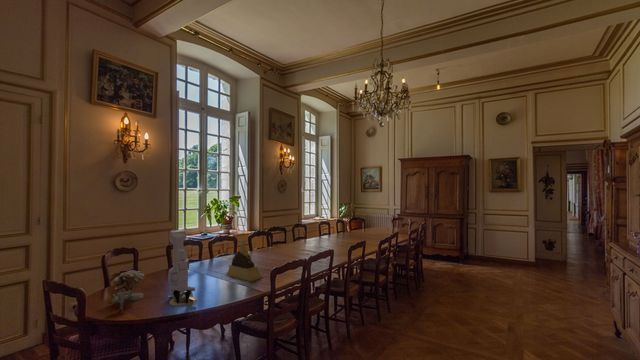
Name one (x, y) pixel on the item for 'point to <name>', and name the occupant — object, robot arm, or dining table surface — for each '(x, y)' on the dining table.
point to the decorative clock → (243, 265)
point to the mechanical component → (122, 297)
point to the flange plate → (179, 303)
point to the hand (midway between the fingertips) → (182, 302)
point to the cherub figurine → (128, 285)
